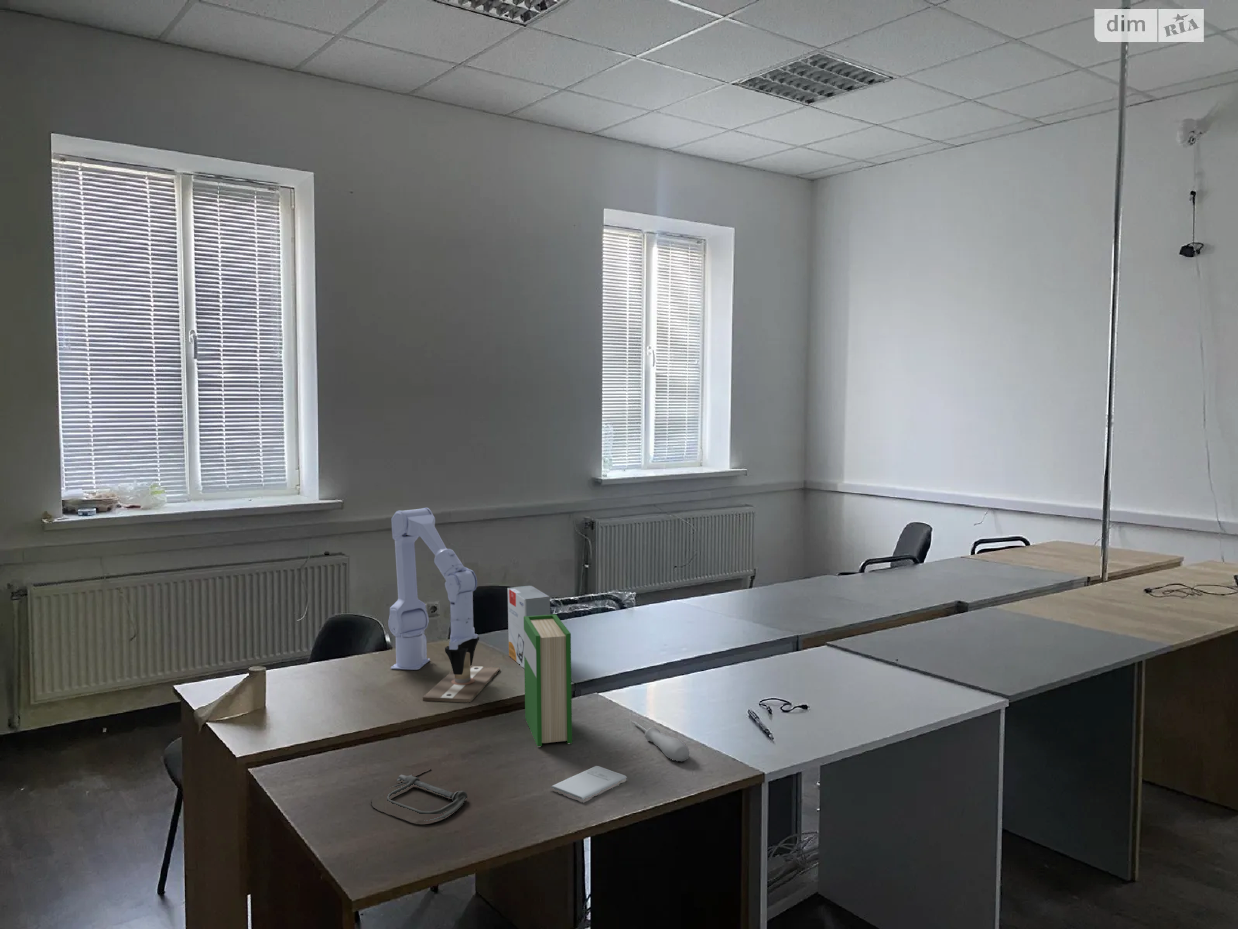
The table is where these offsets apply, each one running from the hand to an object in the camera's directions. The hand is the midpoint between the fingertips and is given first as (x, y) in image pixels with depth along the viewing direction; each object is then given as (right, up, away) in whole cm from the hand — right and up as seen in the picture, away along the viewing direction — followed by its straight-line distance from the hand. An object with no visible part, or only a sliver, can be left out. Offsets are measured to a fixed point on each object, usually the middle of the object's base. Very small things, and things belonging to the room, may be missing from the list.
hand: (462, 669), depth 231 cm
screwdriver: (+48, -7, -40) cm, 63 cm away
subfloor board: (0, -4, 0) cm, 4 cm away
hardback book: (+24, -6, -33) cm, 41 cm away
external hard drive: (+35, -9, -61) cm, 70 cm away
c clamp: (+4, -10, -65) cm, 66 cm away
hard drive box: (+15, -3, +20) cm, 25 cm away
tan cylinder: (0, -3, 0) cm, 3 cm away
